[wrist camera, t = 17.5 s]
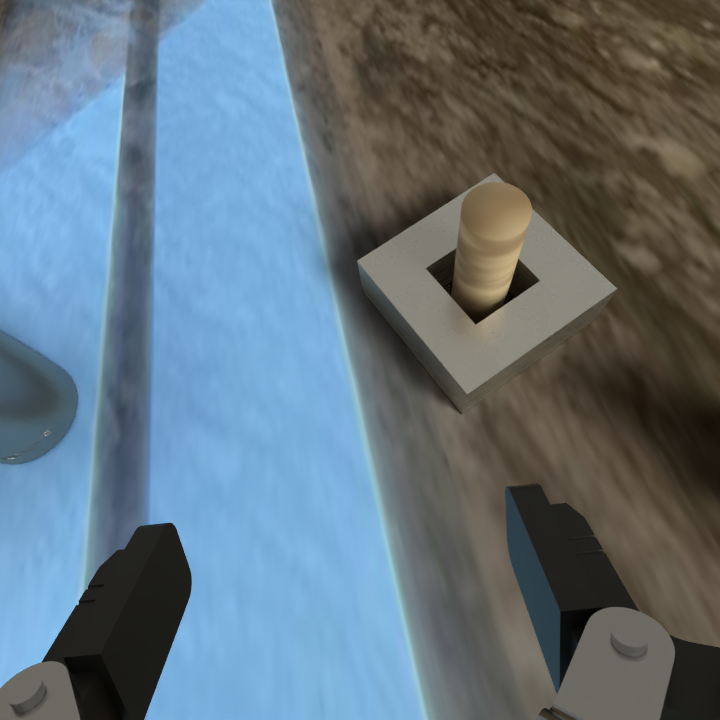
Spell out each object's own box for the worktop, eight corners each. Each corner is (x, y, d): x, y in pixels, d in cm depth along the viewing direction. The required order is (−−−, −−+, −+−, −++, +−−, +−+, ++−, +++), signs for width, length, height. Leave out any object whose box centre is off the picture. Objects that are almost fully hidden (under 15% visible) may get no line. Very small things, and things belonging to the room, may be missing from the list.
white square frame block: (363, 291, 47) (357, 260, 43) (487, 210, 49) (494, 173, 45) (462, 414, 42) (467, 394, 38) (596, 318, 44) (617, 288, 40)
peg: (439, 301, 46) (446, 205, 34) (479, 275, 47) (500, 171, 35) (471, 338, 45) (491, 251, 33) (513, 310, 45) (546, 214, 33)
